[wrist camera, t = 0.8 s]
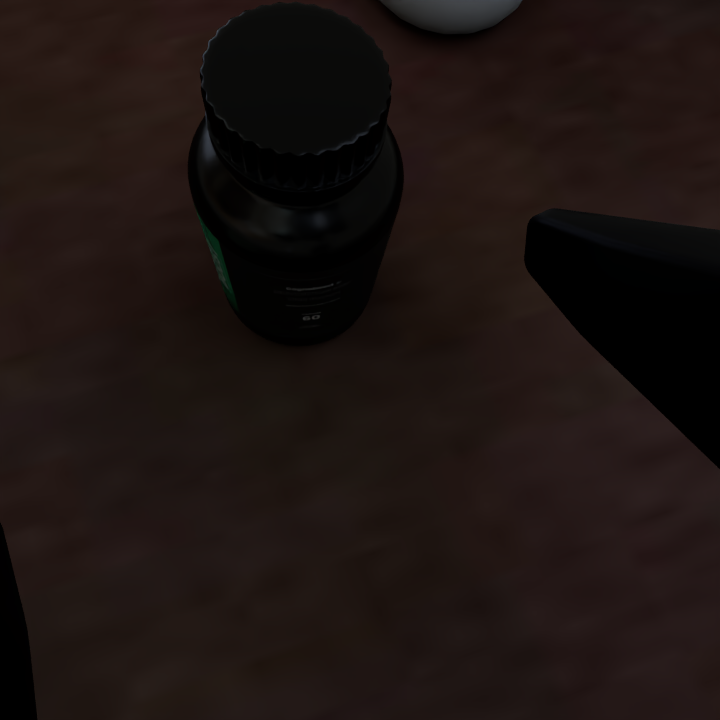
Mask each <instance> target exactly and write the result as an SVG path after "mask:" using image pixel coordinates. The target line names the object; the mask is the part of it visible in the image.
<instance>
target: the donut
mask: <svg viewBox="0 0 720 720" xmlns="http://www.w3.org/2000/svg"><path fill="white" fill-rule="evenodd" d="M379 1H380V2H382V3H383V4H384V5H385V6H386V7H387V8H388V9H390V10H391V11H392V12H393V13H394V14H395V15H397V16H398V17H399V18H400V19H402V20H404V21H406V22H408V23H410V24H412V25H414V26H416V27H418V28H420V29H423V30H428V31H432V32H437V33H441V34H469V33H474V32H477V31H480V30H483V29H486V28H489V27H493V26H495V25H496V24H498V23H499V22H500V21H501V20H503V19H504V18H505V17H507V16H508V15H509V14H511V13H512V12H513V11H514V10H516V9H517V8H518V6H519V5H520V3H521V1H522V0H379Z"/></svg>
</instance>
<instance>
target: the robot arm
mask: <svg viewBox="0 0 720 720" xmlns="http://www.w3.org/2000/svg"><path fill="white" fill-rule="evenodd" d="M524 261H525V265H526V268H527V270H528V272H529V273H530V275H531V276H532V277H533V278H534V280H535V281H536V282H537V283H538V284H539V286H540V287H541V288H542V289H543V290H544V292H545V293H546V294H547V295H548V296H549V298H550V299H551V300H552V301H553V302H554V304H555V305H556V306H557V307H558V308H559V310H560V311H561V312H562V313H563V314H564V316H565V317H566V318H567V319H568V320H569V322H570V323H571V324H572V325H573V326H574V327H575V328H576V330H577V331H578V332H579V333H580V334H581V335H582V336H583V337H584V338H585V339H586V340H587V341H588V342H589V343H590V344H591V345H592V346H593V347H594V348H595V349H596V350H597V351H598V352H599V353H600V354H601V355H602V356H603V357H604V358H605V359H606V360H607V361H608V362H609V363H610V364H611V365H612V366H613V367H614V368H616V369H617V370H618V371H619V372H620V373H621V374H622V375H623V376H624V377H625V378H626V379H627V380H628V381H629V382H630V383H631V384H632V385H633V386H634V387H635V388H636V389H637V390H638V391H639V392H640V393H641V394H642V395H643V396H645V397H646V398H647V399H648V400H649V401H650V402H651V403H652V404H653V405H654V406H655V407H656V408H657V409H658V410H659V411H660V412H661V413H662V414H663V415H664V416H665V417H666V418H667V419H668V420H669V421H670V422H671V423H672V424H674V425H675V426H676V427H677V428H678V429H679V430H680V431H681V432H682V433H683V434H684V435H685V436H686V437H687V438H688V439H689V440H690V441H691V442H692V443H693V444H694V445H695V446H696V447H697V448H698V449H699V450H700V451H701V452H703V453H704V454H705V455H706V456H707V457H708V458H709V459H710V460H711V461H712V462H713V463H714V464H715V465H716V466H717V467H718V468H719V469H720V230H715V229H707V228H700V227H692V226H685V225H677V224H670V223H662V222H654V221H647V220H639V219H632V218H624V217H617V216H609V215H601V214H594V213H586V212H579V211H571V210H564V209H555V208H554V209H549V210H546V211H544V212H542V213H540V214H538V215H535V216H534V217H532V218H531V219H530V221H529V223H528V226H527V234H526V245H525V256H524ZM0 720H37V711H36V702H35V693H34V683H33V674H32V664H31V655H30V646H29V639H28V631H27V626H26V621H25V616H24V612H23V608H22V604H21V600H20V596H19V592H18V587H17V583H16V579H15V575H14V571H13V567H12V563H11V559H10V555H9V551H8V547H7V543H6V539H5V535H4V531H3V527H2V525H1V523H0Z"/></svg>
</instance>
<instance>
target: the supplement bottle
mask: <svg viewBox="0 0 720 720" xmlns="http://www.w3.org/2000/svg"><path fill="white" fill-rule="evenodd" d="M388 72H389V65H388V63H387V62H386V61H385V60H384V58H383V51H382V50H381V49H380V48H378V47H377V46H376V44H375V41H374V39H373V38H372V37H371V36H369V35H367V34H366V33H365V32H364V30H363V28H362V27H361V26H359V25H356V24H354V23H352V21H351V20H350V19H349V18H348V17H345V16H342V15H338V14H337V13H336V12H334V11H333V10H331V9H323V8H321V7H319V6H317V5H315V4H309V5H305V4H302V3H299V2H293V3H282V2H278V3H275V4H272V5H261V6H259V7H257V8H256V9H253V10H245V11H244V12H243V13H242V14H241V15H240V16H237V17H234V18H231V19H230V20H229V21H228V23H227V25H225V26H223V27H221V28H219V29H218V31H217V34H216V36H215V37H213V38H212V39H211V40H210V41H209V43H208V49H207V51H206V52H205V53H204V54H203V65H202V67H201V69H200V79H201V83H202V84H201V93H202V98H203V102H204V106H205V116H204V118H203V119H202V121H201V122H200V124H199V126H198V128H197V130H196V132H195V135H194V137H193V140H192V143H191V147H190V151H189V157H188V180H189V186H190V190H191V194H192V198H193V202H194V205H195V208H196V211H197V214H198V217H199V220H200V223H201V226H202V229H203V232H204V234H205V237H206V240H207V243H208V246H209V249H210V252H211V255H212V258H213V261H214V264H215V267H216V270H217V272H218V275H219V278H220V281H221V284H222V287H223V290H224V292H225V295H226V297H227V300H228V302H229V304H230V306H231V308H232V309H233V311H234V312H235V314H236V315H237V317H238V318H239V319H240V320H241V321H242V322H243V323H244V324H245V325H246V326H247V327H248V328H249V329H251V330H252V331H253V332H255V333H256V334H258V335H260V336H262V337H263V338H266V339H268V340H270V341H273V342H277V343H280V344H285V345H292V346H305V345H313V344H318V343H322V342H325V341H327V340H330V339H332V338H334V337H336V336H338V335H340V334H341V333H343V332H344V331H346V330H347V329H348V328H349V327H350V326H352V325H353V324H354V322H355V321H356V320H357V319H358V318H359V316H360V315H361V314H362V312H363V310H364V309H365V307H366V305H367V303H368V301H369V298H370V295H371V293H372V290H373V287H374V284H375V280H376V277H377V274H378V271H379V268H380V265H381V262H382V259H383V256H384V253H385V249H386V246H387V243H388V240H389V237H390V234H391V231H392V228H393V225H394V222H395V218H396V215H397V212H398V209H399V206H400V201H401V197H402V192H403V184H404V170H403V162H402V157H401V153H400V150H399V147H398V144H397V141H396V139H395V137H394V135H393V133H392V131H391V129H390V128H389V126H388V124H387V117H388V112H389V107H390V103H391V93H390V91H391V86H392V80H391V78H390V76H389V74H388Z"/></svg>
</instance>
